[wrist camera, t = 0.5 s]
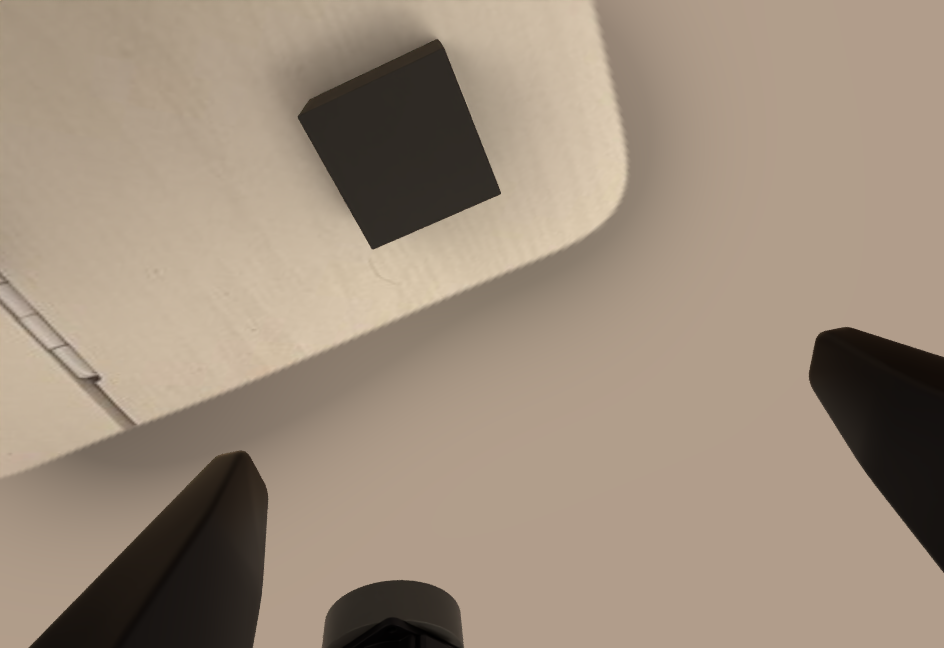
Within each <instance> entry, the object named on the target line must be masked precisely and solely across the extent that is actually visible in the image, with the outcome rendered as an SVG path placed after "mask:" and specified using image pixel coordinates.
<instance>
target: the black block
mask: <svg viewBox="0 0 944 648" xmlns="http://www.w3.org/2000/svg"><path fill="white" fill-rule="evenodd" d="M298 119H299V121H300V123H301V124H302V126H303V128H304V130H305V131H306V133H307V135H308V137H309V138H310V140H311V142H312V144H313V146H314V147H315V149H316V151H317V153H318V154H319V156H320V158H321V160H322V162H323V163H324V165H325V167H326V169H327V170H328V172H329V174H330V176H331V178H332V179H333V181H334V183H335V185H336V186H337V188H338V190H339V192H340V193H341V195H342V197H343V199H344V201H345V202H346V204H347V206H348V208H349V209H350V211H351V213H352V215H353V217H354V218H355V220H356V222H357V224H358V225H359V227H360V229H361V231H362V232H363V234H364V236H365V238H366V240H367V241H368V243H369V245H370V247H371V248H372V249H376V248H378V247H380V246H382V245H385V244H387V243H389V242H392V241H394V240H396V239H399V238H401V237H403V236H406V235H408V234H410V233H412V232H415V231H417V230H419V229H422V228H424V227H426V226H429V225H431V224H433V223H435V222H438V221H440V220H442V219H445V218H447V217H449V216H452V215H454V214H456V213H459V212H461V211H463V210H465V209H468V208H470V207H472V206H475V205H477V204H479V203H482V202H484V201H486V200H488V199H491V198H493V197H495V196H498V195H500V194H501V191H500V189H499V186H498V184H497V181H496V179H495V176H494V174H493V171H492V168H491V166H490V163H489V161H488V158H487V156H486V153H485V151H484V148H483V146H482V143H481V140H480V138H479V135H478V133H477V130H476V128H475V125H474V123H473V120H472V118H471V115H470V113H469V110H468V107H467V105H466V102H465V100H464V97H463V95H462V92H461V90H460V87H459V85H458V82H457V79H456V77H455V74H454V72H453V69H452V67H451V64H450V62H449V59H448V57H447V54H446V52H445V49H444V47H443V46H442V44H441V43H440V41H439V40H438V39H436V40H434V41H432V42H430V43H428V44H426V45H424V46H422V47H419V48H417V49H415V50H413V51H411V52H409V53H407V54H405V55H403V56H400V57H398V58H396V59H394V60H392V61H390V62H388V63H386V64H384V65H381V66H379V67H377V68H375V69H373V70H371V71H369V72H367V73H365V74H362V75H360V76H358V77H356V78H354V79H352V80H350V81H348V82H346V83H343V84H341V85H339V86H337V87H335V88H333V89H331V90H329V91H327V92H325V93H322V94H320V95H318V96H316V97H314V98H312V99H310V100H309V101H308V103H307V104H306V106H305V107H304V108H303V110H302V111H301V113H300V114H299V115H298Z"/></svg>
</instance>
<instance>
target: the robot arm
mask: <svg viewBox="0 0 944 648" xmlns="http://www.w3.org/2000/svg"><path fill="white" fill-rule="evenodd" d="M809 380H810V384H811V387H812V389H813V390H814V392H815V393H816V395H817V397H818V399H819V400H820V402H821V403H822V405H823V407H824V408H825V410H826V411H827V413H828V414H829V416H830V418H831V419H832V421H833V422H834V424H835V426H836V427H837V429H838V430H839V432H840V434H841V435H842V437H843V438H844V440H845V442H846V443H847V445H848V446H849V448H850V449H851V451H852V452H853V454H854V456H855V458H856V459H857V460H858V462H859V463H860V465H861V466H862V468H863V469H864V471H865V472H866V473H867V475H868V476H869V477H870V479H871V480H872V482H873V483H874V484H875V486H876V487H877V488H878V489H879V491H880V492H881V493H882V495H884V497H885V498H886V500H887V501H888V502H889V503H890V505H891V506H892V507H893V508H894V510H895V511H896V512H897V514H898V515H899V516H900V517H901V519H902V520H903V521H904V522H905V524H906V525H907V526H908V528H909V529H910V530H911V532H912V533H913V534H914V535H915V537H916V538H917V539H918V540H919V542H920V543H921V544H922V546H923V547H924V548H925V549H926V550H927V552H928V553H929V555H930V556H931V557H932V558H933V560H934V561H935V562H936V563H937V565H938V566H939V567H940V569H941V570H942V571H943V572H944V357H942V356H939V355H935V354H932V353H929V352H926V351H923V350H920V349H916V348H913V347H910V346H907V345H904V344H900V343H897V342H894V341H891V340H888V339H885V338H882V337H879V336H876V335H873V334H869V333H866V332H863V331H860V330H857V329H854V328H850V327H843V328H837V329H833V330H828V331H824V332H822V333H820V334H819V335H818V336H817V338H816V341H815V346H814V350H813V355H812V361H811V365H810V370H809ZM267 509H268V493H267V488H266V485H265V483H264V481H263V480H262V478H261V476H260V474H259V472H258V470H257V468H256V467H255V465H254V463H253V461H252V459H251V457H250V456H249V455H248V454H247V453H246V452H245V451H235V452H230V453H225V454H221V455H218V456H216V457H215V458H214V459H213V460H212V461H211V462H210V463H209V464H208V465H207V466H206V467H205V468H204V469H203V470H202V471H201V472H200V473H199V474H198V475H197V476H196V477H195V478H194V479H193V480H192V481H191V482H190V483H189V485H187V486H186V488H185V489H184V490H183V491H182V492H181V493H180V494H179V495H178V496H177V497H176V498H175V499H174V500H173V501H172V502H171V503H170V504H169V505H168V506H167V507H166V508H165V509H164V510H163V511H162V512H161V513H160V514H159V515H158V516H157V517H156V518H155V519H154V520H153V521H152V522H151V523H150V524H149V525H148V526H147V527H146V528H145V530H143V531H142V532H141V534H140V535H139V536H138V537H137V538H136V539H135V540H134V541H133V542H132V543H131V544H130V545H129V546H128V547H127V548H126V549H125V550H124V551H123V552H122V553H121V554H120V555H119V556H118V557H117V558H116V559H115V560H114V561H113V562H112V563H111V564H110V565H109V566H108V567H107V568H106V569H105V570H104V571H103V572H102V573H101V574H100V576H98V578H96V579H95V581H94V582H93V583H92V584H91V585H90V586H89V587H88V588H87V589H86V590H85V591H84V592H83V593H82V594H81V595H80V596H79V597H78V598H77V599H76V600H75V601H74V602H73V603H72V604H71V605H70V606H69V607H68V608H67V609H66V610H65V611H64V612H63V613H62V614H61V615H60V616H59V617H58V618H57V619H56V620H55V621H54V622H53V624H51V625H50V627H49V628H48V629H47V630H46V631H45V632H44V633H43V634H42V635H41V636H40V637H39V638H38V639H37V640H36V641H35V642H34V643H33V644H32V645H31V646H30V647H29V648H253V643H254V637H255V632H256V626H257V620H258V615H259V609H260V601H261V596H262V586H263V572H264V557H265V541H266V525H267ZM342 648H459V647H457V646H455V645H453V644H451V643H449V642H447V641H445V640H443V639H441V638H439V637H437V636H435V635H432V634H430V633H428V632H426V631H424V630H422V629H420V628H418V627H416V626H414V625H412V624H410V623H407V622H405V621H403V620H401V619H399V618H396V617H389V618H386V619H384V620H383V621H381V622H380V623H378V624H377V625H375V626H374V627H372V628H371V629H369V630H368V631H366V632H365V633H363V634H362V635H360V636H359V637H357V638H356V639H354V640H353V641H351V642H350V643H348V644H347V645H345V646H344V647H342Z"/></svg>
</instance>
